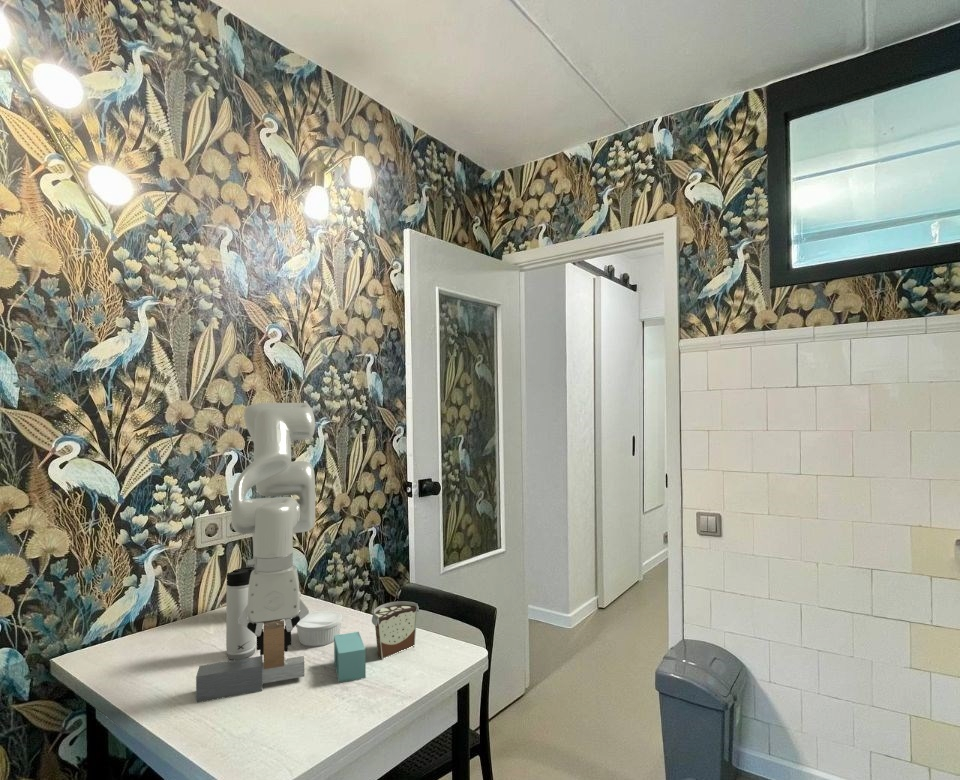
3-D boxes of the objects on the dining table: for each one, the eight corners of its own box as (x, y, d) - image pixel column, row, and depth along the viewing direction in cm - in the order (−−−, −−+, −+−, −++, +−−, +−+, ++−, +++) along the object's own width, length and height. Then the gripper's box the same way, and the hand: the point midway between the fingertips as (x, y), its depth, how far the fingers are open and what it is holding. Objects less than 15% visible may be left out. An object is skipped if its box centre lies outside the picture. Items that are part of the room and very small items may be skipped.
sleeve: (196, 702, 108) (196, 676, 108) (199, 690, 112) (199, 665, 112) (261, 690, 112) (261, 665, 112) (262, 679, 116) (262, 655, 117)
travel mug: (245, 661, 125) (245, 572, 126) (220, 659, 127) (220, 571, 127) (262, 649, 131) (262, 565, 132) (237, 647, 133) (237, 563, 133)
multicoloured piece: (203, 694, 109) (204, 638, 109) (206, 685, 112) (206, 630, 113) (304, 677, 115) (304, 624, 116) (303, 669, 119) (303, 617, 119)
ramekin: (297, 652, 130) (297, 629, 130) (293, 635, 140) (293, 614, 140) (345, 643, 134) (345, 622, 134) (338, 627, 144) (338, 607, 145)
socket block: (338, 682, 115) (338, 653, 115) (334, 662, 124) (334, 635, 124) (365, 678, 116) (365, 649, 117) (359, 658, 126) (358, 631, 126)
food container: (404, 637, 137) (403, 597, 137) (419, 644, 133) (419, 603, 133) (361, 653, 128) (361, 610, 129) (376, 661, 124) (376, 616, 124)
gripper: (228, 572, 109) (228, 665, 109) (316, 562, 115) (316, 651, 114) (231, 562, 116) (231, 650, 116) (314, 554, 122) (314, 637, 122)
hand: (274, 650), depth 115 cm, fingers closed on multicoloured piece, 4 cm apart
